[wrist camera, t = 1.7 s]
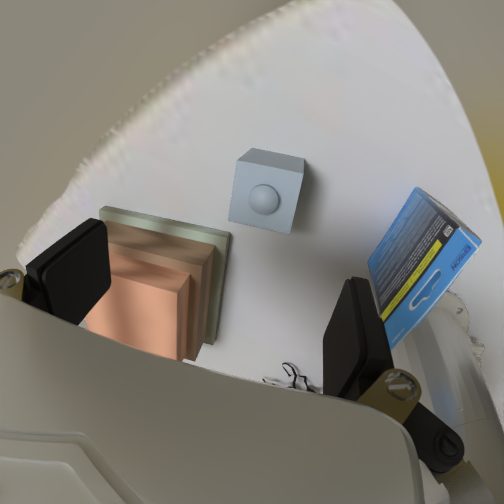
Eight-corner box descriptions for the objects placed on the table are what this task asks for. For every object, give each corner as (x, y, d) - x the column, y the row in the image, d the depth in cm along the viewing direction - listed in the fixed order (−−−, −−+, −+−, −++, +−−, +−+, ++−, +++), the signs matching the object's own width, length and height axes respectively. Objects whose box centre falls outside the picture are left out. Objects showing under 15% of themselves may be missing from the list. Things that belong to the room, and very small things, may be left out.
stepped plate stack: (230, 232, 29) (203, 278, 22) (215, 338, 36) (195, 390, 29) (105, 205, 30) (56, 237, 23) (113, 307, 37) (80, 348, 30)
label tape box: (395, 277, 29) (427, 369, 18) (363, 260, 28) (386, 352, 18) (444, 205, 24) (512, 272, 14) (412, 182, 24) (476, 242, 13)
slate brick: (304, 158, 25) (303, 175, 19) (293, 207, 27) (288, 238, 21) (252, 147, 25) (235, 161, 20) (244, 196, 28) (225, 224, 22)
